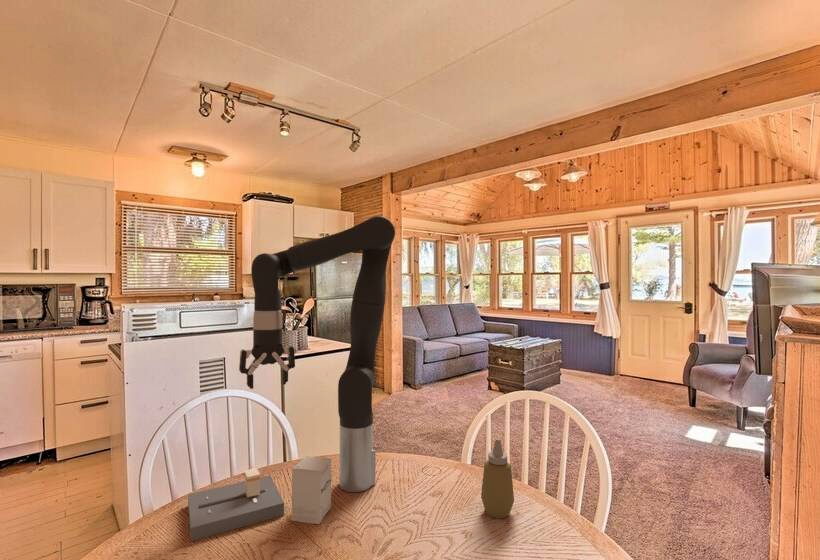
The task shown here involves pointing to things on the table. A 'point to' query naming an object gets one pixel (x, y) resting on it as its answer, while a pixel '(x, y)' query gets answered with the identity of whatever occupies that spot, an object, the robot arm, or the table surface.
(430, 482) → the table surface
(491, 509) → the squeeze bottle
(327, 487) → the supplement box
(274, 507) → the console
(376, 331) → the robot arm
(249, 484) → the fader
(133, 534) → the table surface
